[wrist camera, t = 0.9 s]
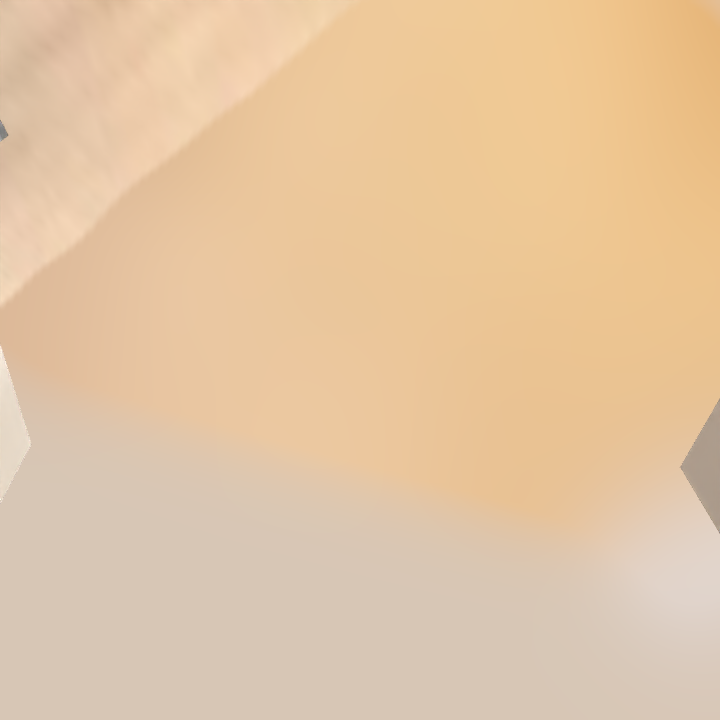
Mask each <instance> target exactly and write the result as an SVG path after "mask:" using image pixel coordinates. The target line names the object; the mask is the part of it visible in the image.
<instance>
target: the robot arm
mask: <svg viewBox="0 0 720 720" xmlns="http://www.w3.org/2000/svg"><path fill="white" fill-rule="evenodd" d="M30 446H31V442H30V438H29V435H28V432H27V429H26V426H25V422H24V419H23V416H22V413H21V409H20V406H19V403H18V400H17V397H16V393H15V391H14V387H13V384H12V381H11V378H10V374H9V371H8V368H7V365H6V362H5V358H4V355H3V352H2V348H1V345H0V503H1V501H2V500H3V498H4V496H5V494H6V492H7V490H8V488H9V486H10V484H11V482H12V480H13V478H14V476H15V475H16V473H17V470H18V469H19V467H20V465H21V463H22V461H23V459H24V457H25V455H26V453H27V451H28V449H29V448H30ZM681 469H682V471H683V472H684V474H685V476H686V477H687V479H688V481H689V483H690V484H691V486H692V488H693V489H694V491H695V492H696V494H697V496H698V498H699V499H700V501H701V503H702V504H703V506H704V508H705V509H706V511H707V513H708V514H709V516H710V518H711V520H712V521H713V523H714V525H715V526H716V528H717V530H718V531H719V533H720V399H719V401H718V403H717V405H716V406H715V408H714V410H713V412H712V413H711V415H710V416H709V418H708V420H707V422H706V423H705V425H704V427H703V429H702V430H701V432H700V434H699V435H698V437H697V439H696V441H695V442H694V444H693V446H692V448H691V449H690V451H689V453H688V455H687V456H686V458H685V460H684V461H683V463H682V465H681Z"/></svg>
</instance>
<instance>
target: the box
mask: <svg viewBox="0 0 720 720" xmlns="http://www.w3.org/2000/svg"><path fill="white" fill-rule="evenodd" d="M7 136H8V134H7V132H6V130H5V128H4V126H3V124H2V122H1V120H0V141H2V140H3V139H4V138H6V137H7Z"/></svg>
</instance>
